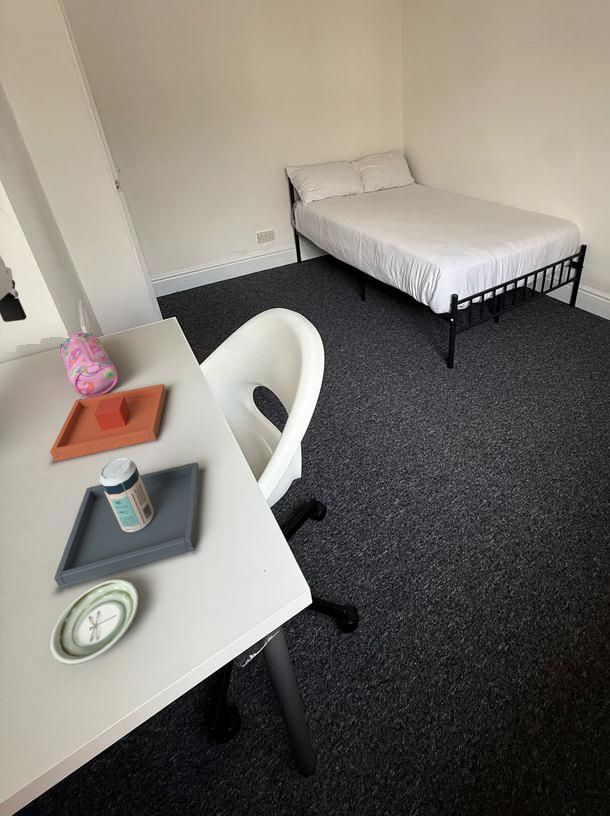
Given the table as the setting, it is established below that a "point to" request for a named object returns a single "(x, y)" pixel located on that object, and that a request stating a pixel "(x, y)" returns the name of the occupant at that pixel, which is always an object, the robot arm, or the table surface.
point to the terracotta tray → (88, 438)
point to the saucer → (94, 622)
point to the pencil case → (88, 365)
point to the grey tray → (119, 550)
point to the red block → (112, 413)
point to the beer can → (126, 494)
